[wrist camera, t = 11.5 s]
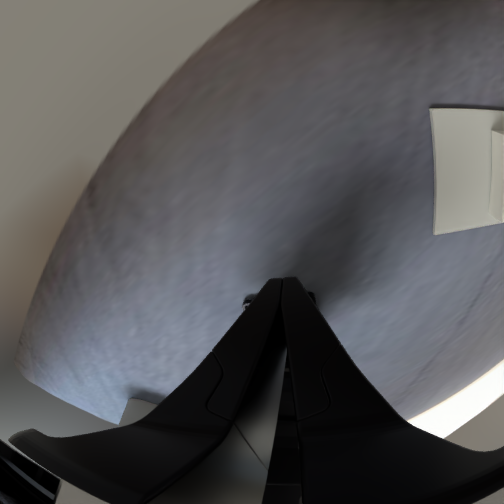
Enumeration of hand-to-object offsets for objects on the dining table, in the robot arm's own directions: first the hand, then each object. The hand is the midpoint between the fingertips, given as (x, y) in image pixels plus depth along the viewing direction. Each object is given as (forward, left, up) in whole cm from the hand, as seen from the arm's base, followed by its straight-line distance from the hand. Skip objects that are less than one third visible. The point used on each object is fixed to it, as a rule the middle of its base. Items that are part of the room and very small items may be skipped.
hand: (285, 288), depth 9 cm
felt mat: (-2, -19, -12) cm, 22 cm away
